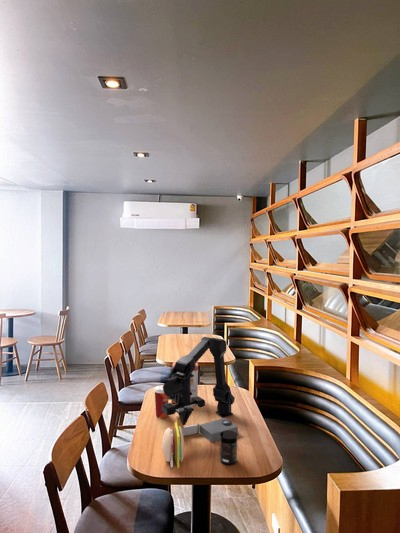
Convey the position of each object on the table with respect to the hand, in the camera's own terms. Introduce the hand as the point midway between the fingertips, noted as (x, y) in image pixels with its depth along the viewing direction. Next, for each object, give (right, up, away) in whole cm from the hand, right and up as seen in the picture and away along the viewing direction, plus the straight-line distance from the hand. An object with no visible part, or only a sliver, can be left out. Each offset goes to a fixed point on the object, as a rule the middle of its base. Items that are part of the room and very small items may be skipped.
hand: (183, 424), depth 159 cm
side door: (+2, -6, +3) cm, 7 cm away
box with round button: (+15, -6, +5) cm, 17 cm away
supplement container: (+18, -7, -17) cm, 26 cm away
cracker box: (-1, -5, +40) cm, 40 cm away
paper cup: (-12, -5, +22) cm, 26 cm away
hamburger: (-3, -7, -16) cm, 18 cm away
